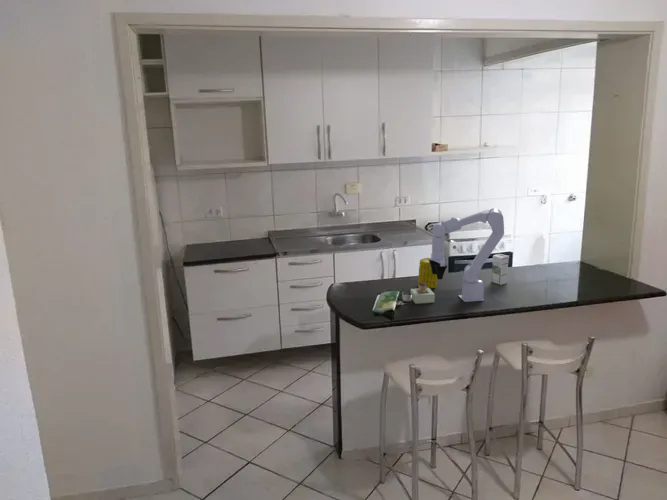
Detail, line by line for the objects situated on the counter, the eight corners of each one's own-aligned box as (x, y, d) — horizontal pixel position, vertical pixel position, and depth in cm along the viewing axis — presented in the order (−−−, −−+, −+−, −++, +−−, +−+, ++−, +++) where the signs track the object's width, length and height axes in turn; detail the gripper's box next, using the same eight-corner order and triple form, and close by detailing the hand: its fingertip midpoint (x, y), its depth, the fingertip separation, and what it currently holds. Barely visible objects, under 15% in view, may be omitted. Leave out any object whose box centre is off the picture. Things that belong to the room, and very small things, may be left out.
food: (414, 290, 265) (426, 286, 272) (434, 290, 257) (445, 286, 264) (410, 260, 264) (422, 257, 271) (430, 259, 256) (441, 256, 263)
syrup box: (507, 283, 269) (509, 255, 265) (499, 285, 265) (501, 257, 261) (498, 280, 273) (500, 253, 269) (490, 282, 270) (492, 255, 266)
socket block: (428, 295, 254) (428, 287, 252) (434, 302, 245) (434, 294, 244) (410, 296, 253) (410, 288, 251) (415, 303, 244) (415, 295, 243)
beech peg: (425, 298, 251) (425, 282, 249) (426, 300, 247) (427, 284, 245) (417, 298, 250) (417, 282, 248) (419, 301, 247) (419, 284, 245)
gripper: (425, 245, 253) (424, 272, 256) (434, 253, 239) (433, 282, 242) (439, 244, 253) (438, 271, 257) (449, 252, 240) (448, 281, 243)
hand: (437, 276), depth 250 cm, fingers open, 7 cm apart
